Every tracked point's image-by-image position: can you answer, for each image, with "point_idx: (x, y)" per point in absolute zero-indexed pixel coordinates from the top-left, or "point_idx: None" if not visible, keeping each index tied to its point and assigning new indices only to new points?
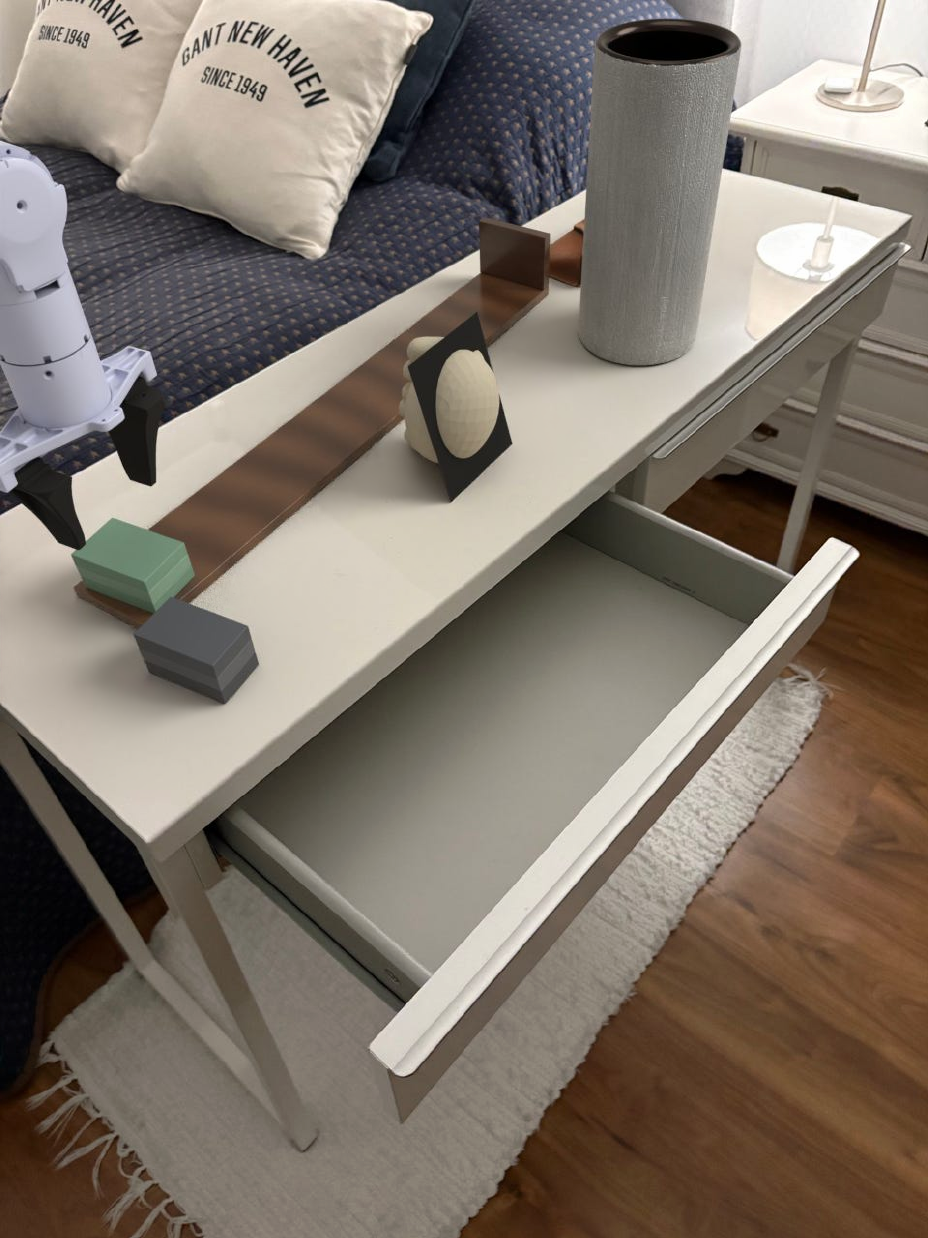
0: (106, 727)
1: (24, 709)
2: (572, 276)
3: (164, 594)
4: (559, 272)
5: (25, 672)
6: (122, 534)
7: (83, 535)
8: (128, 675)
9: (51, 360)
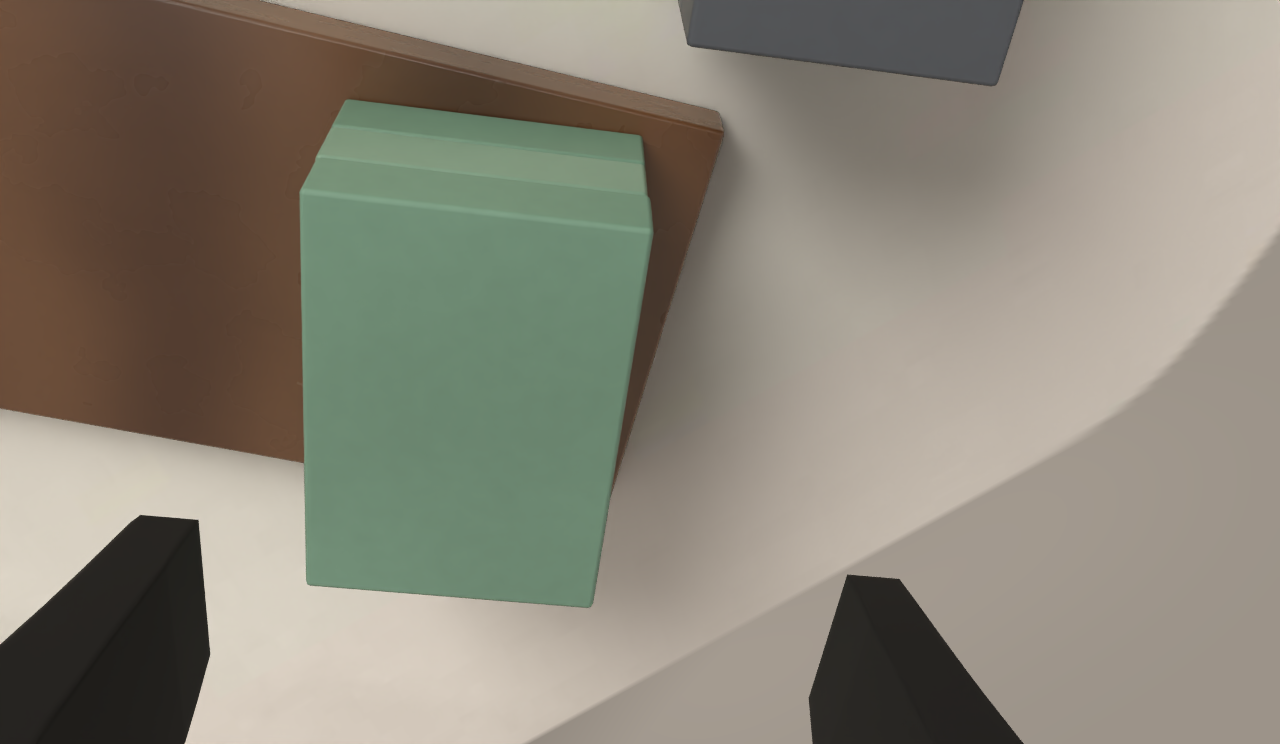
0: (1238, 11)
1: (1162, 351)
2: None
3: (560, 147)
4: None
5: (994, 441)
6: (387, 492)
7: (879, 624)
8: (949, 81)
9: None
